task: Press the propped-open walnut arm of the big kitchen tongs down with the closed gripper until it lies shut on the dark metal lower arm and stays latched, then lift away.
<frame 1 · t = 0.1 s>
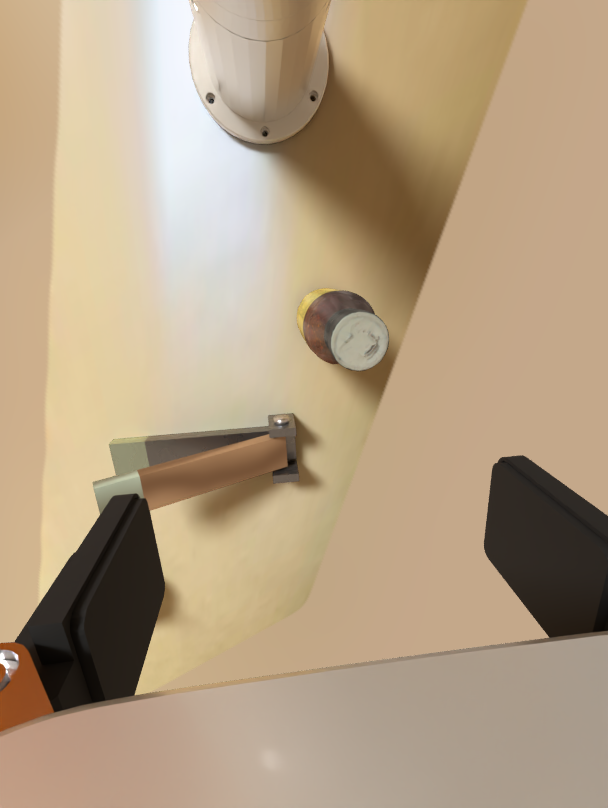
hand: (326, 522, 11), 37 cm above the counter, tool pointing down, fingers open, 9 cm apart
sauce bottle: (321, 314, 46), on the counter
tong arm: (200, 473, 43), point 7 cm above the counter, hinge at 25.0°
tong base: (213, 445, 49), on the counter
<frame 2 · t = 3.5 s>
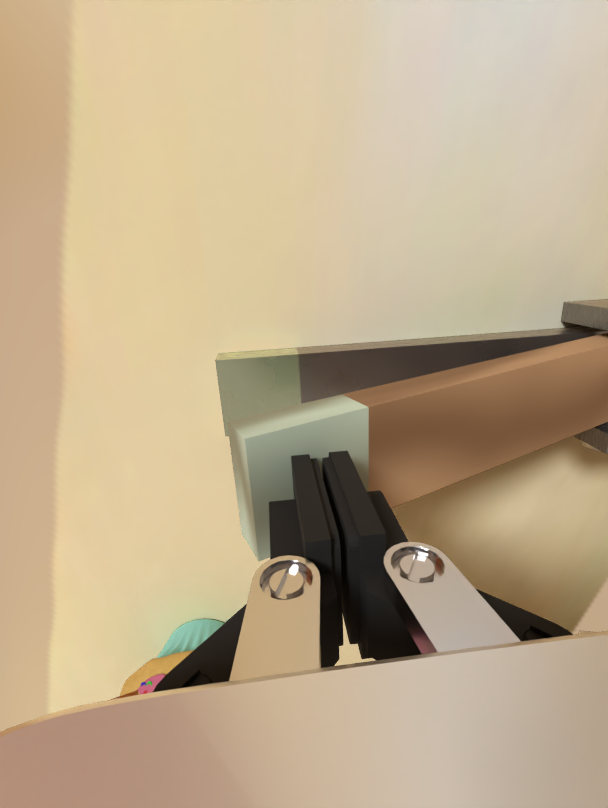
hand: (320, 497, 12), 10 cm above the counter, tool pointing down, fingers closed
cupcake: (204, 643, 27), on the counter
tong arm: (478, 417, 16), point 6 cm above the counter, hinge at 22.6°
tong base: (433, 373, 22), on the counter
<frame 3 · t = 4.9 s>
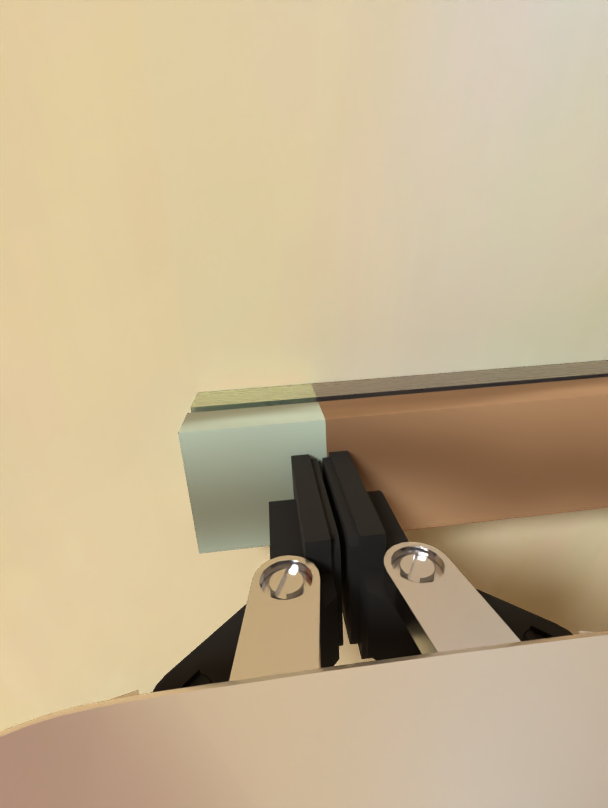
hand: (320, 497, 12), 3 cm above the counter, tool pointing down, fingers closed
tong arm: (507, 451, 13), point 3 cm above the counter, hinge at 0.5°, touching gripper
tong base: (505, 417, 16), on the counter
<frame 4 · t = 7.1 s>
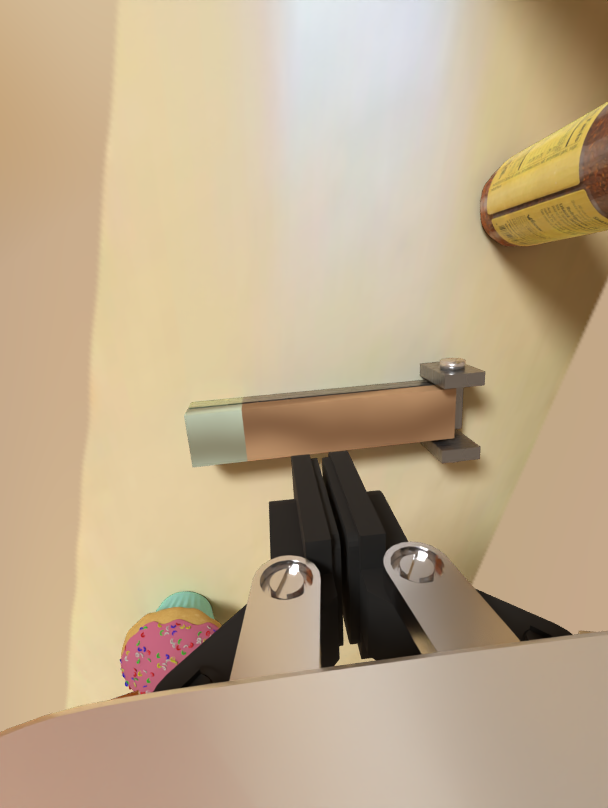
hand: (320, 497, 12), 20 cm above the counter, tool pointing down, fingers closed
sauce bottle: (511, 202, 30), on the counter
cupcake: (186, 611, 37), on the counter
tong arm: (324, 424, 30), point 3 cm above the counter, hinge at 0.3°
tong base: (337, 411, 33), on the counter
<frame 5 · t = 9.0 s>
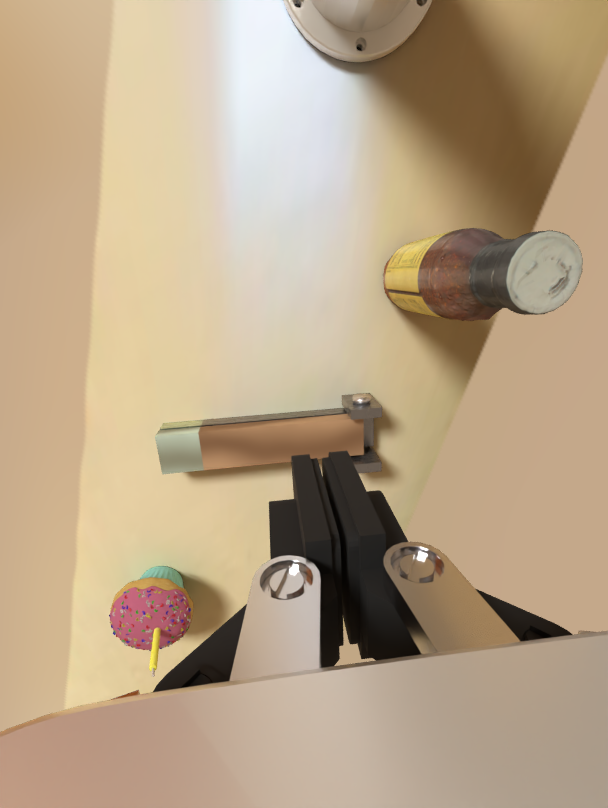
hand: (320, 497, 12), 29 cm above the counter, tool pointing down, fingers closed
sauce bottle: (409, 274, 39), on the counter
cupcake: (162, 581, 47), on the counter
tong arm: (263, 442, 40), point 3 cm above the counter, hinge at 0.3°
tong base: (277, 431, 42), on the counter
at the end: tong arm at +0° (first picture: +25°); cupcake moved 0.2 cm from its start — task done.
